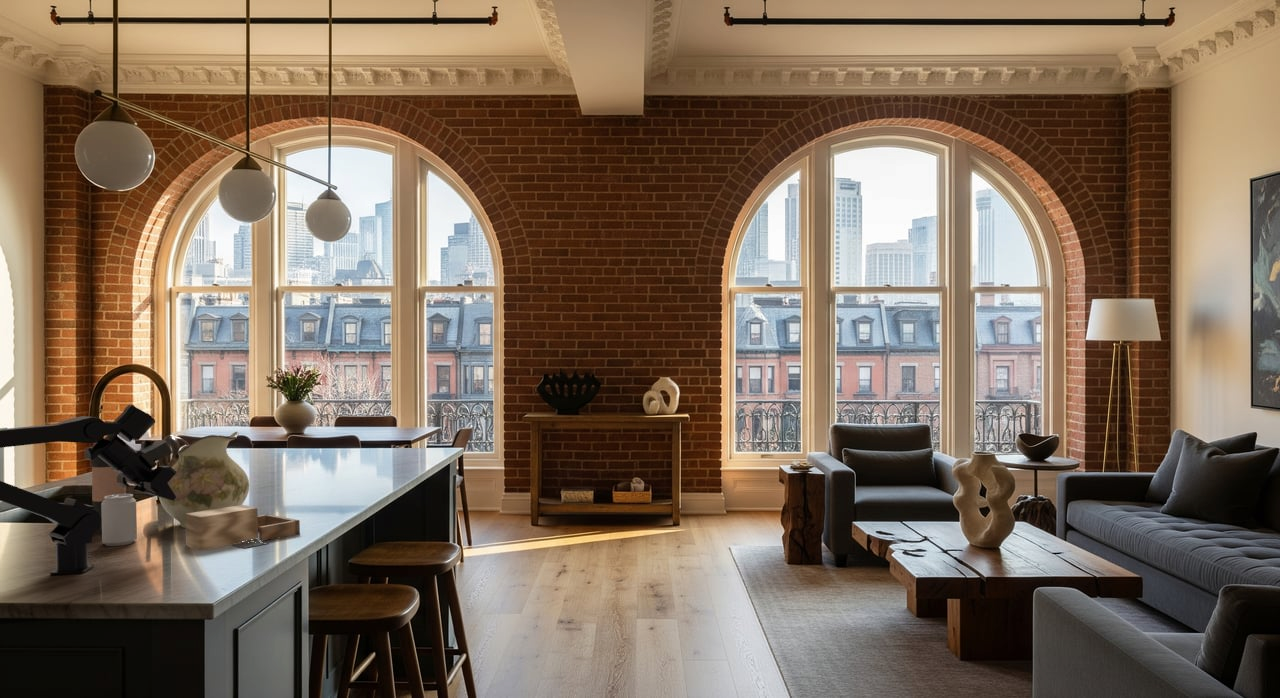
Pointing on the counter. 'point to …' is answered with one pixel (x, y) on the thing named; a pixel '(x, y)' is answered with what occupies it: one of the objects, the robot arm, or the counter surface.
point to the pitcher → (203, 476)
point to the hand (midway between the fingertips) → (172, 498)
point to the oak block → (221, 526)
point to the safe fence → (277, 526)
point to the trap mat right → (248, 544)
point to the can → (119, 520)
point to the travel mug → (103, 485)
